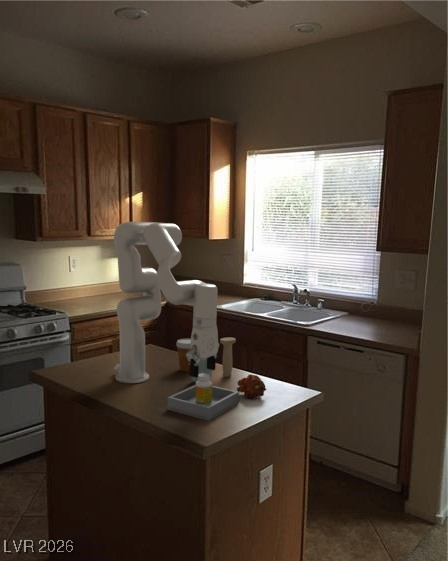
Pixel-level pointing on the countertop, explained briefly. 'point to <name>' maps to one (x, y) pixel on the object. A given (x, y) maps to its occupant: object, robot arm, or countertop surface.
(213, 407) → the box
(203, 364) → the cup
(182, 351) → the disposable coffee cup
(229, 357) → the handle
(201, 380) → the supplement bottle
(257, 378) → the dragon fruit
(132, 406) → the countertop surface
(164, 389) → the countertop surface
